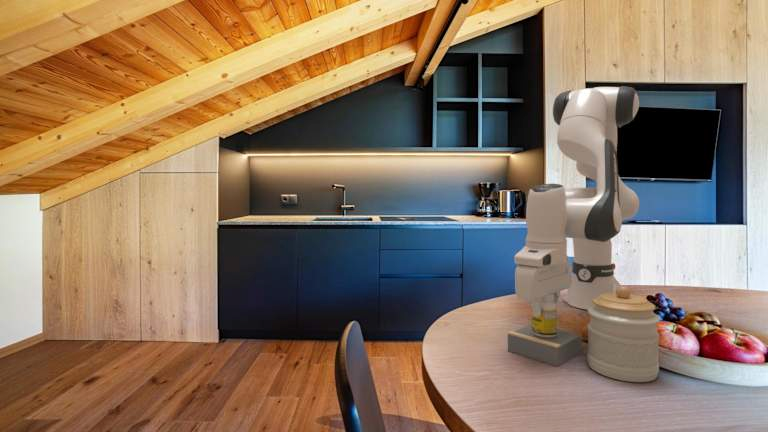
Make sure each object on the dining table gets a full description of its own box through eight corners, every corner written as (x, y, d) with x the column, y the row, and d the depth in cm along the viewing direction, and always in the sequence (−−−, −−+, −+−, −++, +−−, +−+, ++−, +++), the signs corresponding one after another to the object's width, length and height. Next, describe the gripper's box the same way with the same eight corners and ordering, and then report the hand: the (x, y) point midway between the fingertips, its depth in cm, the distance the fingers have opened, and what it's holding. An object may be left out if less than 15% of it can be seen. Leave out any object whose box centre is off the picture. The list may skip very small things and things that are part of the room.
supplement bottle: (528, 330, 98) (528, 290, 97) (550, 330, 98) (550, 290, 98) (538, 338, 92) (538, 296, 92) (561, 338, 93) (562, 295, 92)
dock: (533, 338, 104) (533, 321, 103) (581, 351, 95) (582, 333, 94) (507, 350, 96) (507, 332, 96) (557, 366, 87) (557, 346, 87)
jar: (616, 354, 93) (618, 278, 92) (674, 377, 81) (676, 290, 80) (573, 362, 89) (574, 282, 88) (627, 388, 77) (628, 296, 76)
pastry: (603, 347, 98) (603, 331, 98) (574, 340, 103) (574, 325, 103) (615, 337, 105) (615, 322, 105) (587, 331, 110) (587, 317, 109)
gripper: (553, 248, 103) (553, 302, 104) (509, 256, 90) (509, 318, 91) (579, 251, 99) (578, 307, 99) (536, 260, 85) (536, 325, 86)
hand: (545, 312), depth 95 cm, fingers closed on supplement bottle, 5 cm apart
